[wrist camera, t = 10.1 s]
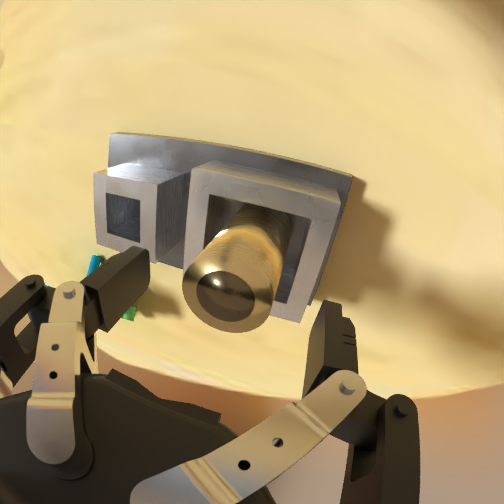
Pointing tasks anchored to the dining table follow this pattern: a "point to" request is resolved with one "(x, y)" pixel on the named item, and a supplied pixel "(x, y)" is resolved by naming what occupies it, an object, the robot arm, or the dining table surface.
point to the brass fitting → (239, 270)
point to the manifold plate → (216, 204)
